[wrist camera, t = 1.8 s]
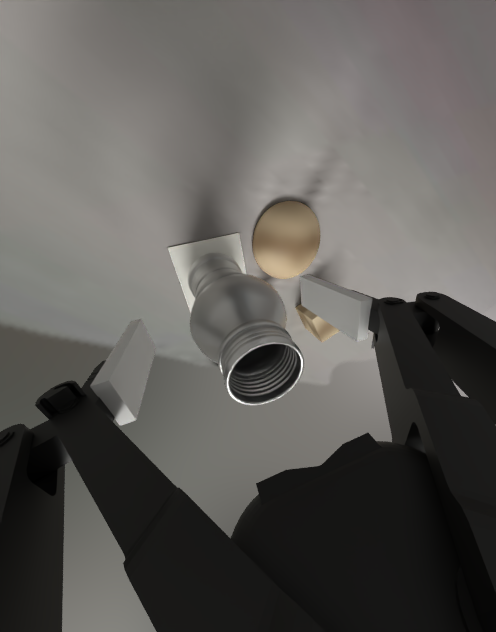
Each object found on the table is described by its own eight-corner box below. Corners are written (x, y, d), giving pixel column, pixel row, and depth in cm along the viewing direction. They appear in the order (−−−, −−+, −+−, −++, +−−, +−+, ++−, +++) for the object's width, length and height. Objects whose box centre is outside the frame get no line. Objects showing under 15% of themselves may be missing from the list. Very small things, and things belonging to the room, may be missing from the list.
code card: (167, 247, 23) (167, 247, 23) (238, 232, 25) (238, 232, 24) (190, 313, 27) (190, 313, 27) (250, 296, 29) (250, 297, 29)
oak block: (295, 307, 32) (312, 320, 28) (319, 290, 32) (340, 300, 28) (305, 327, 34) (322, 342, 30) (328, 312, 34) (348, 325, 30)
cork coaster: (246, 208, 24) (247, 208, 23) (317, 195, 25) (320, 194, 25) (258, 284, 28) (259, 286, 28) (317, 269, 30) (320, 270, 29)
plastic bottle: (179, 259, 24) (154, 347, 6) (230, 243, 25) (330, 283, 7) (198, 304, 27) (216, 447, 9) (243, 288, 28) (335, 393, 10)
